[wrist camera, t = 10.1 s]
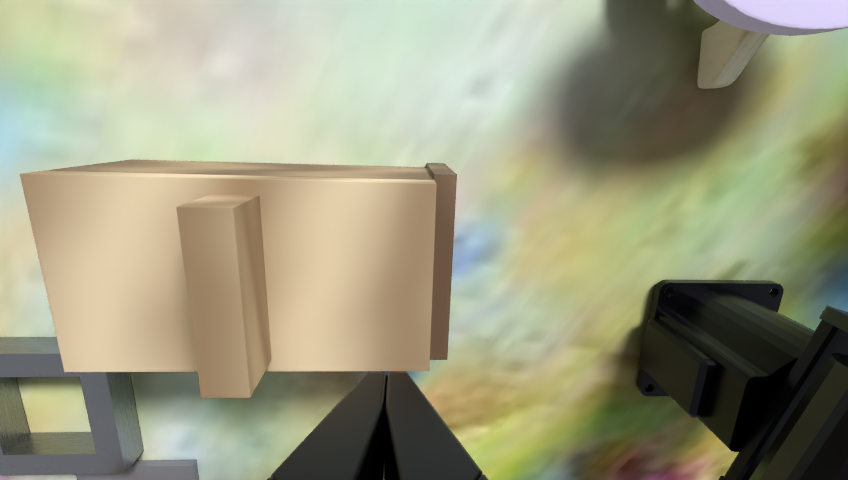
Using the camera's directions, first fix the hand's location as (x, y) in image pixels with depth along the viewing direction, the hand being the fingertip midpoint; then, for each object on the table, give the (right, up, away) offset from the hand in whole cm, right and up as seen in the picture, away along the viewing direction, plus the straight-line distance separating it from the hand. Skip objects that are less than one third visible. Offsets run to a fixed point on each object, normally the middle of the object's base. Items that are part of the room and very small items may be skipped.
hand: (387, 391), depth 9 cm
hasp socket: (-18, -5, +12) cm, 22 cm away
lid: (-5, +2, +7) cm, 9 cm away
